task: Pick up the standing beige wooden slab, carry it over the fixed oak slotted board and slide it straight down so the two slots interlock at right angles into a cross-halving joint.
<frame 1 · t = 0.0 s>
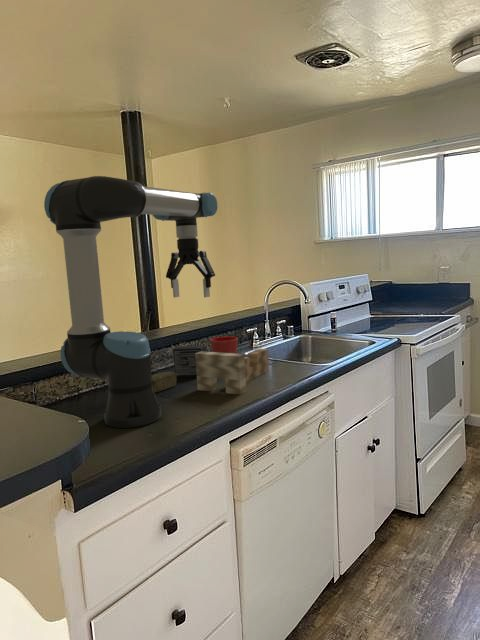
hand: (191, 297, 177), 28 cm above the table, fingers open, 13 cm apart
small box: (190, 375, 177), on the table
beige wooden slab: (221, 390, 154), on the table
oak board: (249, 377, 168), on the table
flower pot: (225, 362, 194), on the table
stone block: (159, 390, 161), on the table
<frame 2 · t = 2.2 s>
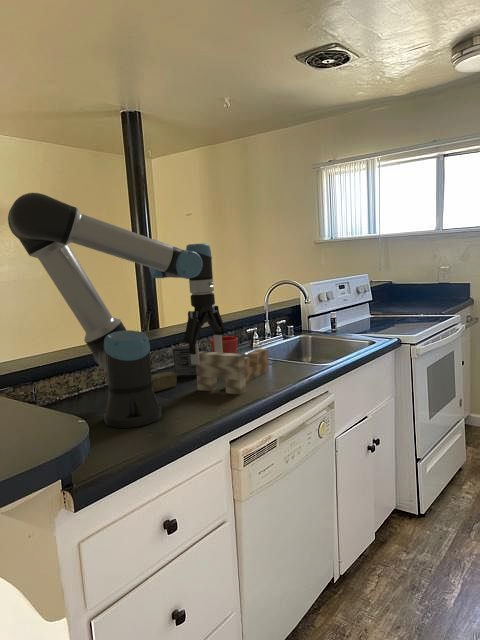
hand: (207, 359, 156), 10 cm above the table, fingers open, 13 cm apart
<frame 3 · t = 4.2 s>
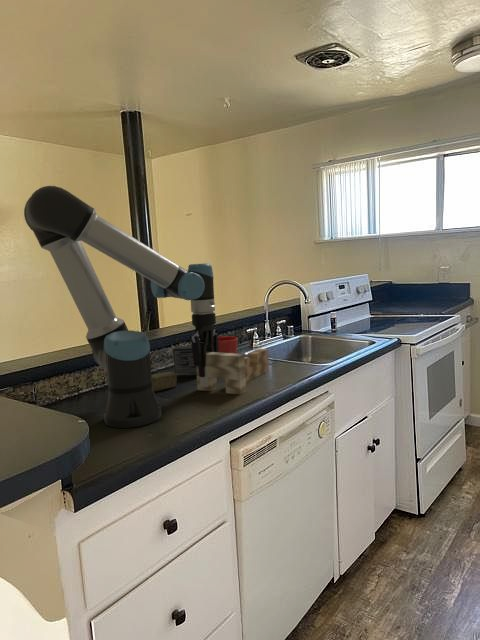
hand: (208, 384, 157), 2 cm above the table, fingers closed on beige wooden slab, 3 cm apart
beige wooden slab: (221, 390, 154), on the table, touching gripper
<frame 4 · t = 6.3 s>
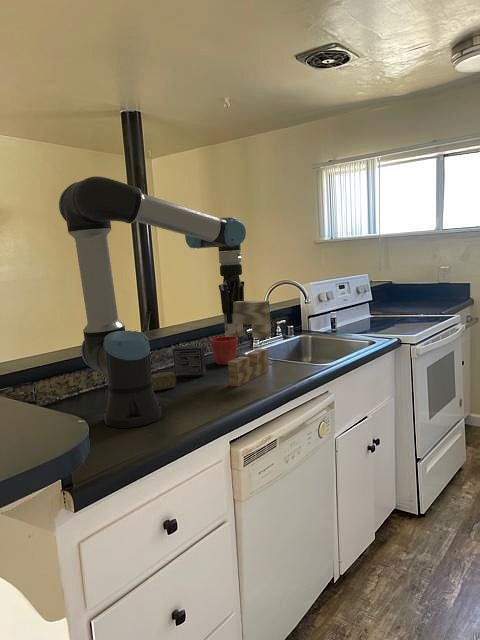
hand: (235, 331, 168), 16 cm above the table, fingers closed on beige wooden slab, 3 cm apart
beige wooden slab: (247, 336, 166), point 15 cm above the table, touching gripper
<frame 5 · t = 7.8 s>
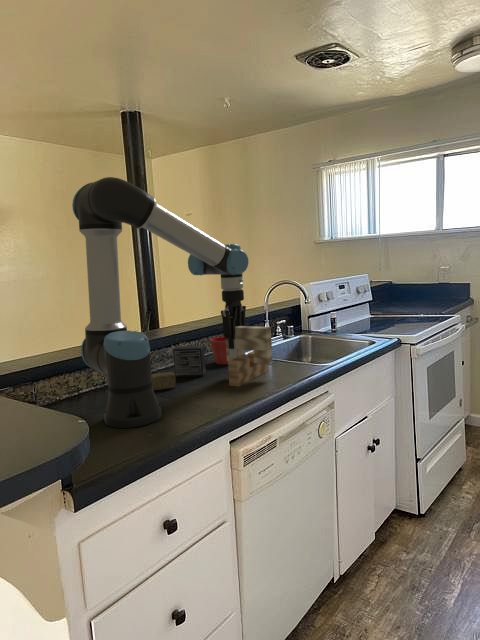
hand: (236, 356, 170), 7 cm above the table, fingers closed on beige wooden slab, 3 cm apart
beige wooden slab: (249, 361, 168), point 6 cm above the table, touching gripper
when the fingers open (3 cm above the table, at t = 8.9 s): beige wooden slab drops 1 cm, on the table.
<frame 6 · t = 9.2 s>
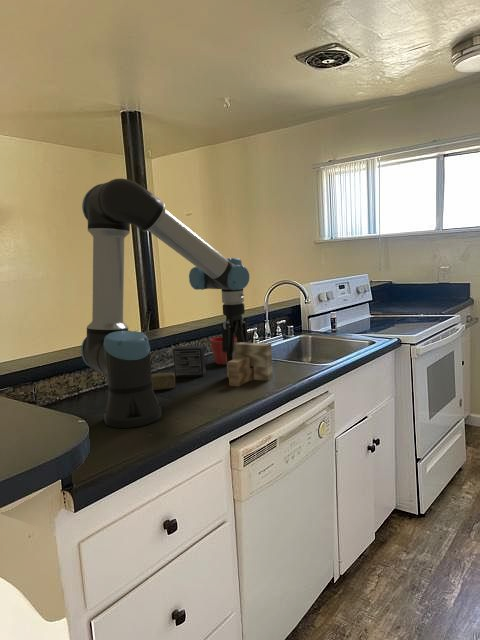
hand: (237, 368, 170), 3 cm above the table, fingers open, 7 cm apart
beige wooden slab: (249, 377, 168), on the table
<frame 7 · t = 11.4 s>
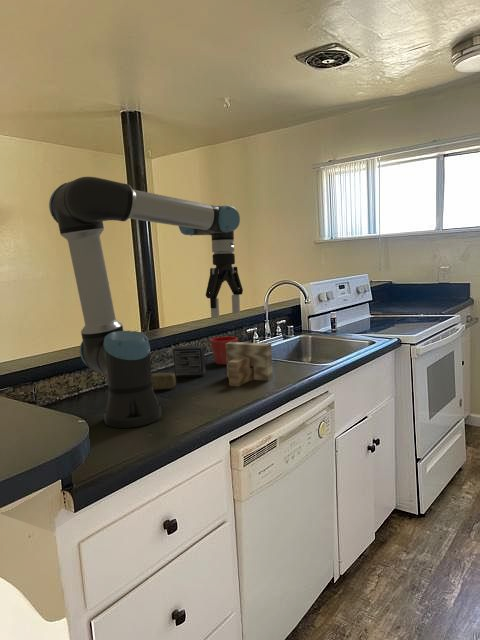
hand: (226, 315, 167), 22 cm above the table, fingers open, 13 cm apart
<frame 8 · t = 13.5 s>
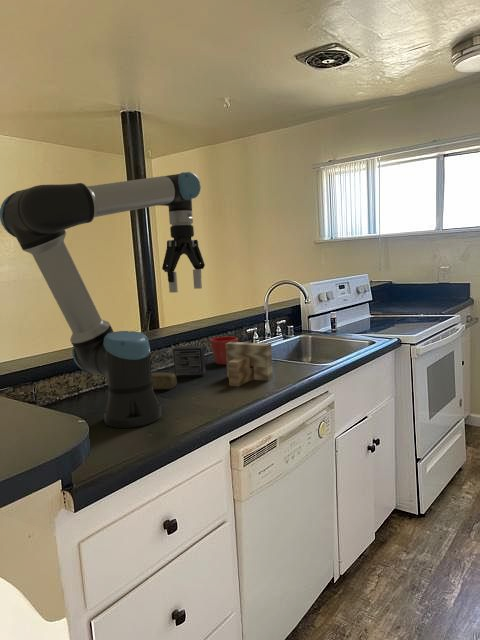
hand: (186, 290, 160), 32 cm above the table, fingers open, 13 cm apart
at the end: beige wooden slab 0.1 cm off-centre on the oak board, point 0.0 cm above the oak board's base; beige wooden slab tilted 0°; the gripper is holding nothing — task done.
